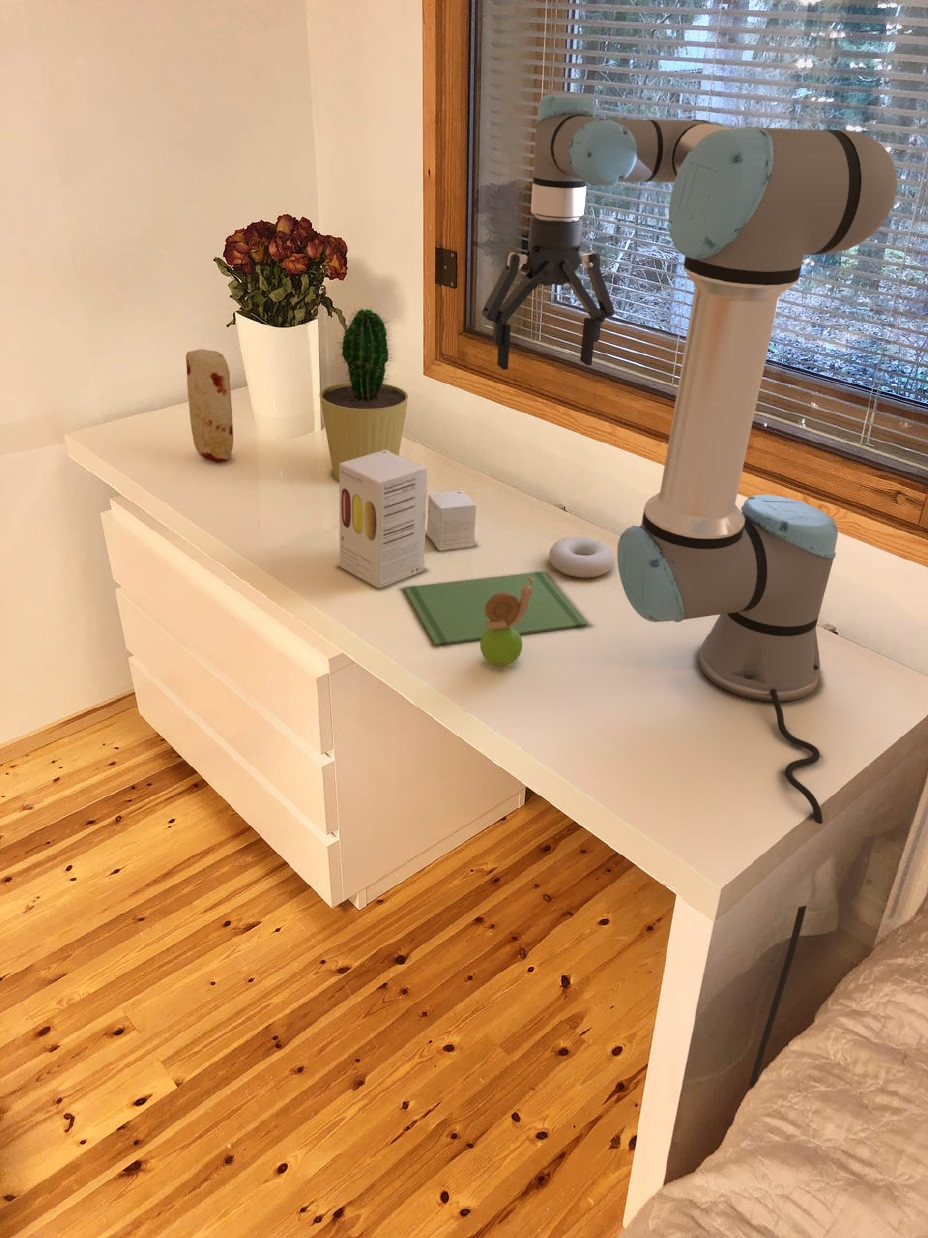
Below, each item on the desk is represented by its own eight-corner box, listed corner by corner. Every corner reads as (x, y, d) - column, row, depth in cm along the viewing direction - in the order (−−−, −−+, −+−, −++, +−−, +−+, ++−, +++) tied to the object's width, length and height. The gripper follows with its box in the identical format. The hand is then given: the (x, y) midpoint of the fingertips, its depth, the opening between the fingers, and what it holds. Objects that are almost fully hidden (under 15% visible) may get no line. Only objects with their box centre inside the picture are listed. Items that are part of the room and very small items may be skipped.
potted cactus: (328, 455, 196) (324, 292, 181) (410, 460, 196) (413, 297, 181) (314, 488, 182) (309, 314, 167) (402, 493, 182) (405, 320, 167)
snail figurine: (534, 668, 135) (542, 587, 129) (488, 676, 133) (494, 594, 127) (517, 647, 139) (524, 567, 133) (472, 655, 137) (477, 574, 131)
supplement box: (337, 567, 157) (336, 461, 149) (383, 549, 163) (384, 447, 154) (379, 590, 151) (380, 482, 143) (426, 571, 157) (429, 466, 149)
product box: (426, 535, 168) (427, 493, 164) (461, 530, 170) (463, 489, 166) (438, 551, 163) (440, 508, 159) (474, 546, 165) (477, 504, 161)
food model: (184, 455, 193) (173, 348, 183) (212, 446, 197) (204, 341, 187) (218, 470, 188) (209, 360, 177) (247, 460, 192) (240, 352, 182)
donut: (544, 577, 157) (610, 585, 156) (545, 557, 156) (612, 564, 154) (552, 549, 166) (615, 556, 164) (554, 529, 164) (617, 536, 163)
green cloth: (586, 625, 145) (586, 623, 145) (435, 645, 139) (435, 643, 139) (543, 573, 158) (543, 571, 158) (403, 589, 152) (403, 587, 152)
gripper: (625, 211, 154) (609, 354, 165) (464, 212, 147) (458, 361, 158) (648, 220, 148) (629, 367, 159) (481, 221, 141) (474, 376, 152)
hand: (544, 365), depth 158 cm, fingers open, 13 cm apart
